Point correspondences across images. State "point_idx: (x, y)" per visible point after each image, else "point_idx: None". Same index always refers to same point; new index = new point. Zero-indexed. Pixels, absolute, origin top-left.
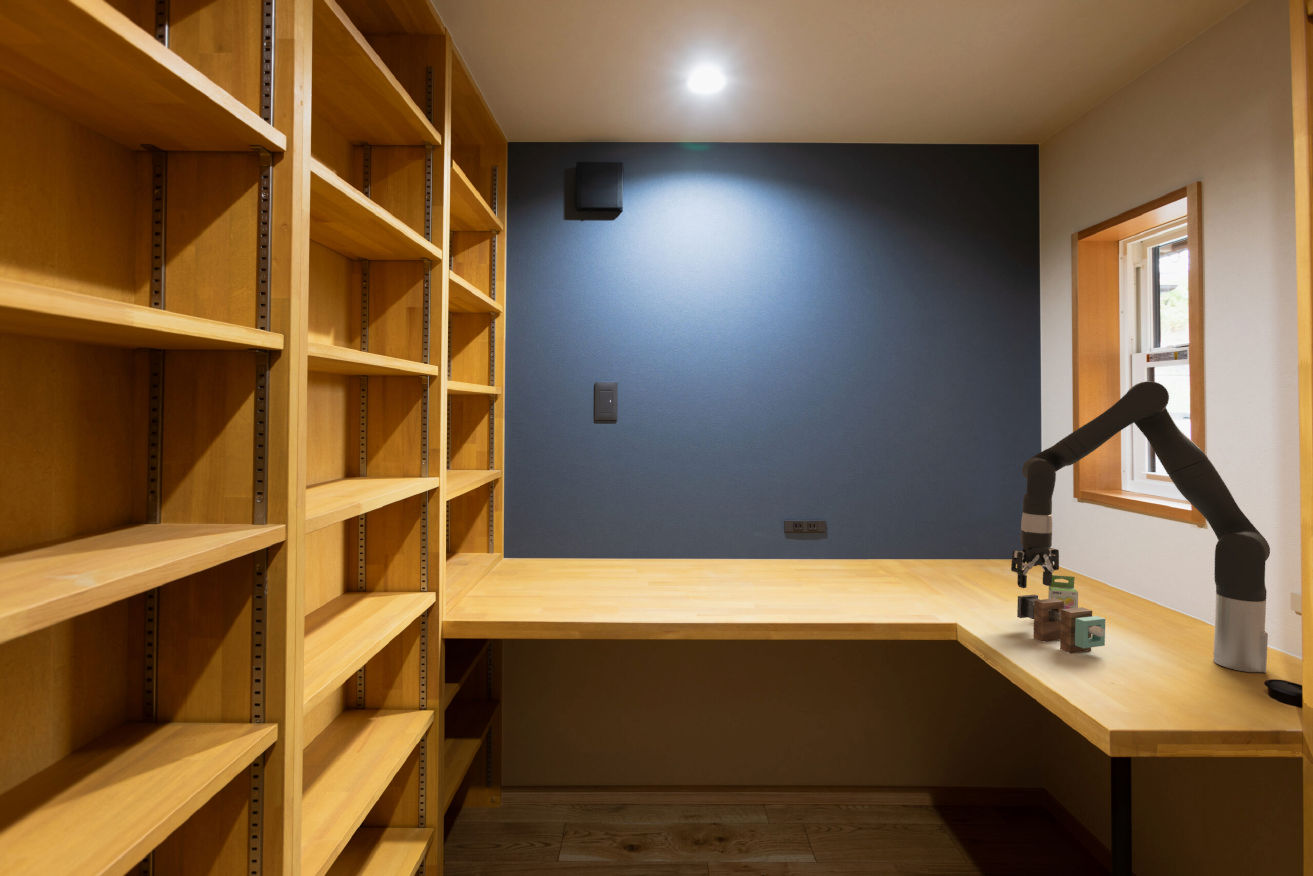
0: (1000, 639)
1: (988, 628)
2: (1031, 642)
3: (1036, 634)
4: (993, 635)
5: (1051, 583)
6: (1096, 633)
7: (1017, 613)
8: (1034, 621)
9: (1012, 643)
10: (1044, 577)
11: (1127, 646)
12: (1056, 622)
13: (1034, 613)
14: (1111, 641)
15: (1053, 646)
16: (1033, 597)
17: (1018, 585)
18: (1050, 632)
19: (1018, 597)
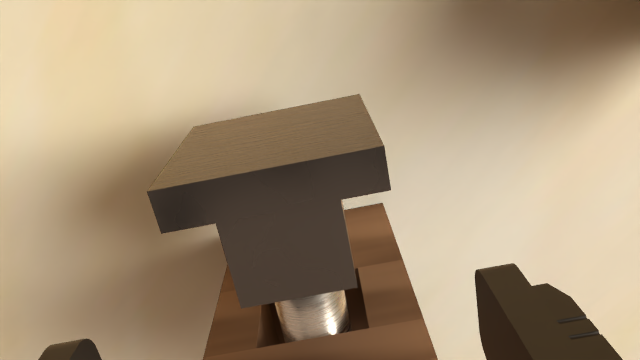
0: (32, 230)
1: (38, 35)
2: (188, 282)
3: None
4: (17, 166)
5: None
6: None
7: (188, 136)
8: (223, 291)
9: (74, 288)
10: (518, 354)
11: (633, 356)
12: (352, 330)
13: (214, 324)
14: (624, 296)
15: None
16: (326, 195)
17: (50, 350)
18: None
19: (153, 195)
